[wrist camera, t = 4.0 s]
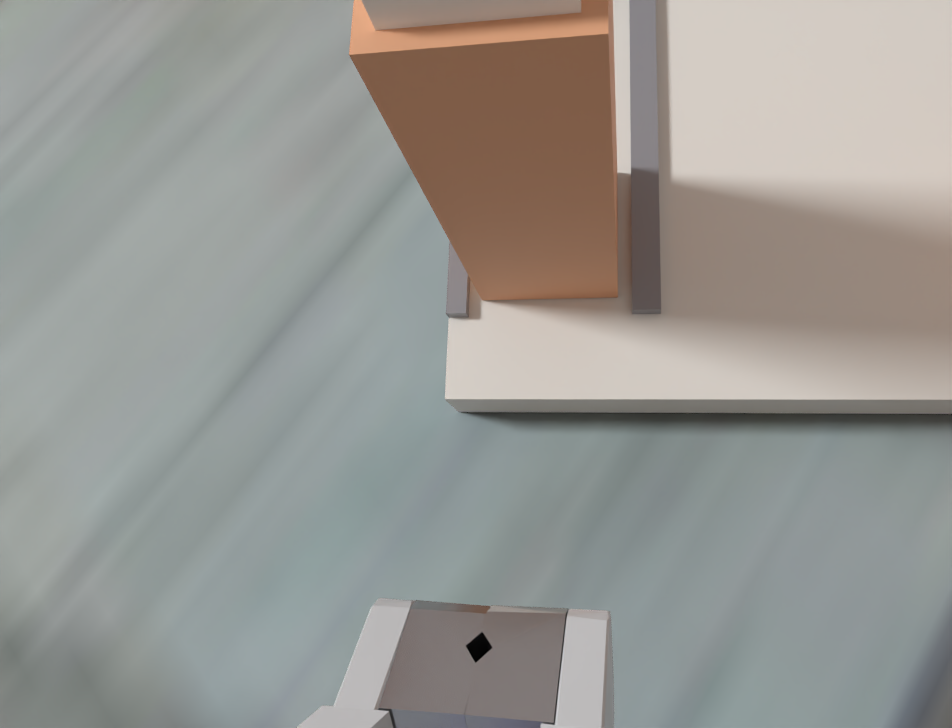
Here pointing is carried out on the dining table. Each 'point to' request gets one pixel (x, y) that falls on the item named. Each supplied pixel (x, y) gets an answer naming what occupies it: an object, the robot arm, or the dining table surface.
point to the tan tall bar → (505, 133)
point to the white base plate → (751, 224)
